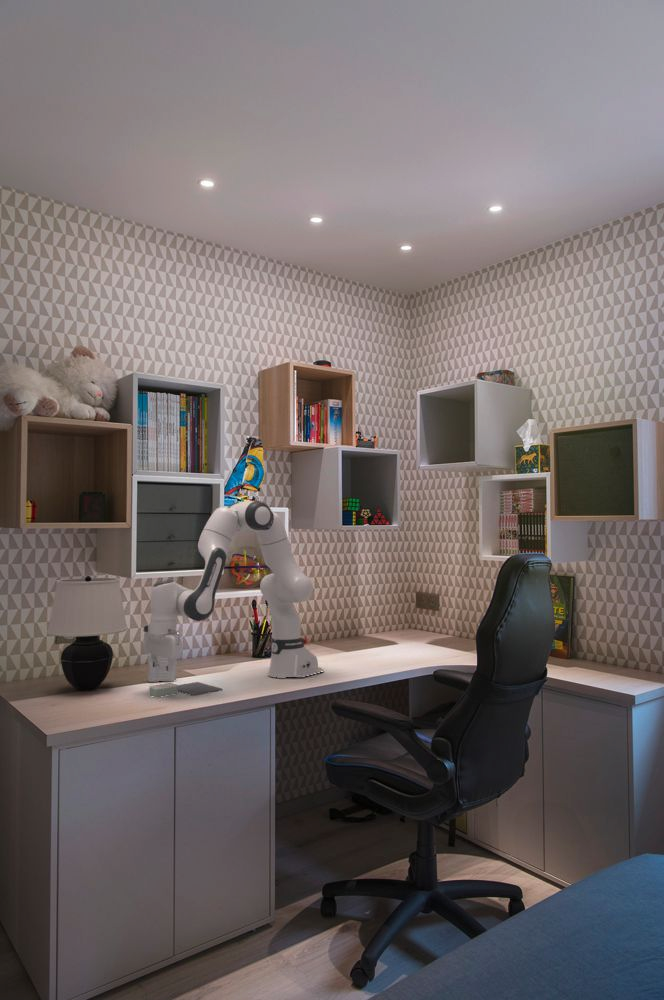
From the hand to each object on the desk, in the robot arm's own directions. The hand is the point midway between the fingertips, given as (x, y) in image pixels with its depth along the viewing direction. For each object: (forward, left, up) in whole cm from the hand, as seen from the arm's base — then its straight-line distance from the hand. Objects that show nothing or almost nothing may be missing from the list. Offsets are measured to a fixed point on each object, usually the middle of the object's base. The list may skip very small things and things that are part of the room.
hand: (162, 669), depth 239 cm
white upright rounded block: (-11, -20, -9) cm, 25 cm away
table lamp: (+15, -26, -9) cm, 32 cm away
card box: (0, 0, -9) cm, 9 cm away
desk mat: (-13, 0, -9) cm, 16 cm away
